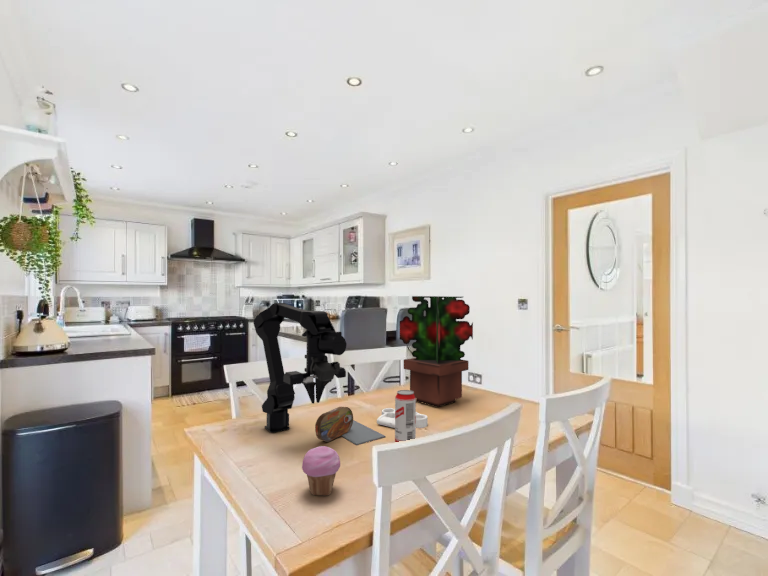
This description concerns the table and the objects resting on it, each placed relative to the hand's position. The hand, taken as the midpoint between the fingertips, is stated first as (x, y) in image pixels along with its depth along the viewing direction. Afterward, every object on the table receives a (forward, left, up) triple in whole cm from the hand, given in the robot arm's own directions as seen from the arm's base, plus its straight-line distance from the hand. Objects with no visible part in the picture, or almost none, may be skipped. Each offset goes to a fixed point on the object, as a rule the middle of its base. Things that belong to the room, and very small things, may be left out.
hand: (315, 402), depth 115 cm
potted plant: (+62, +10, -12) cm, 64 cm away
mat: (+14, 0, -12) cm, 19 cm away
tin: (+7, 0, -12) cm, 14 cm away
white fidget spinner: (+33, -2, -13) cm, 35 cm away
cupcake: (-12, -27, -12) cm, 32 cm away
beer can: (+21, -18, -12) cm, 30 cm away
